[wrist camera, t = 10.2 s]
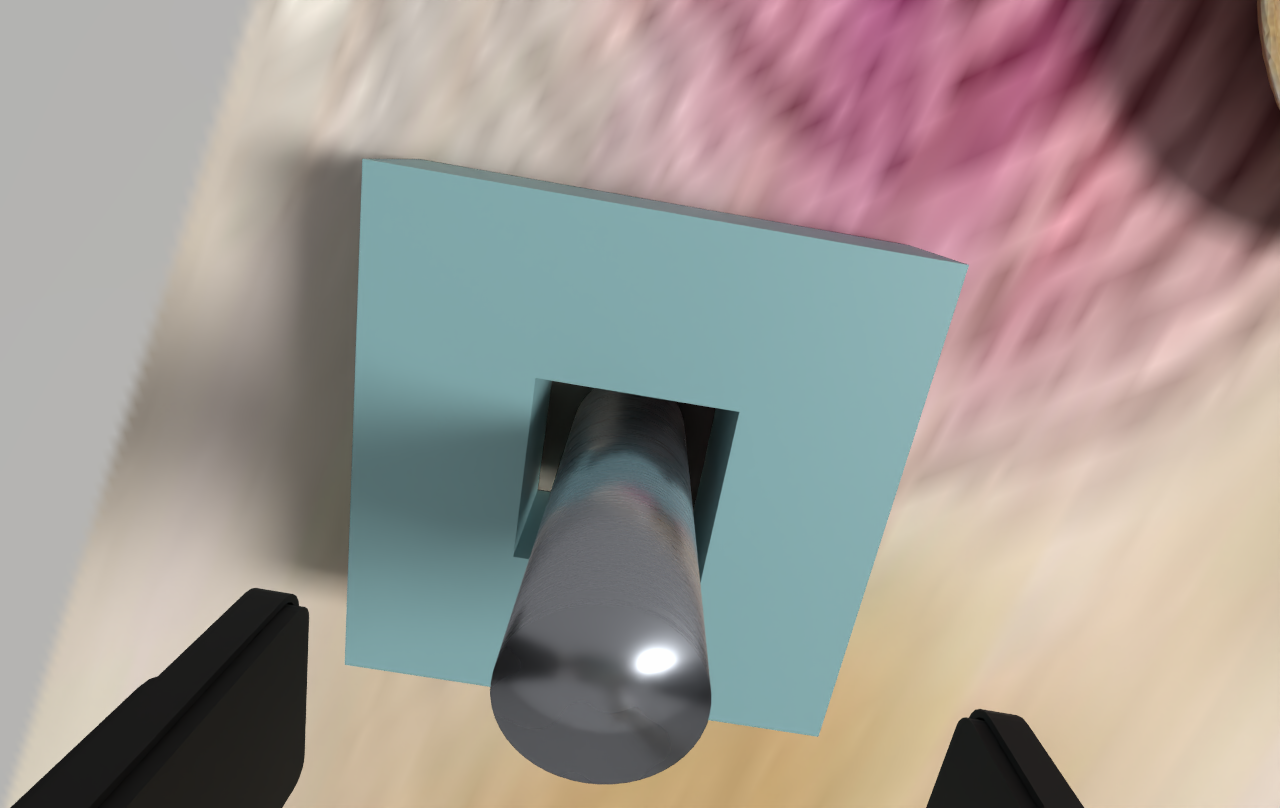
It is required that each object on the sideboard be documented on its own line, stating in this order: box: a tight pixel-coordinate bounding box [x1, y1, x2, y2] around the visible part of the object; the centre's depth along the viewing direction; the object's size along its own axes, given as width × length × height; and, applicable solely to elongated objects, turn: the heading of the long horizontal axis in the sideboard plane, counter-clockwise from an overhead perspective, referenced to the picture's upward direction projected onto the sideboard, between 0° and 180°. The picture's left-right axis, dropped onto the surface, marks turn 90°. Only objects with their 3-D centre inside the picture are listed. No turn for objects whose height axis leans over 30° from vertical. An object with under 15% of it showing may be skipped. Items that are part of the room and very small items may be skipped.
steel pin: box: [490, 388, 711, 784], centre depth 14 cm, size 3×3×10 cm
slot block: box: [345, 159, 969, 737], centre depth 17 cm, size 12×12×4 cm
